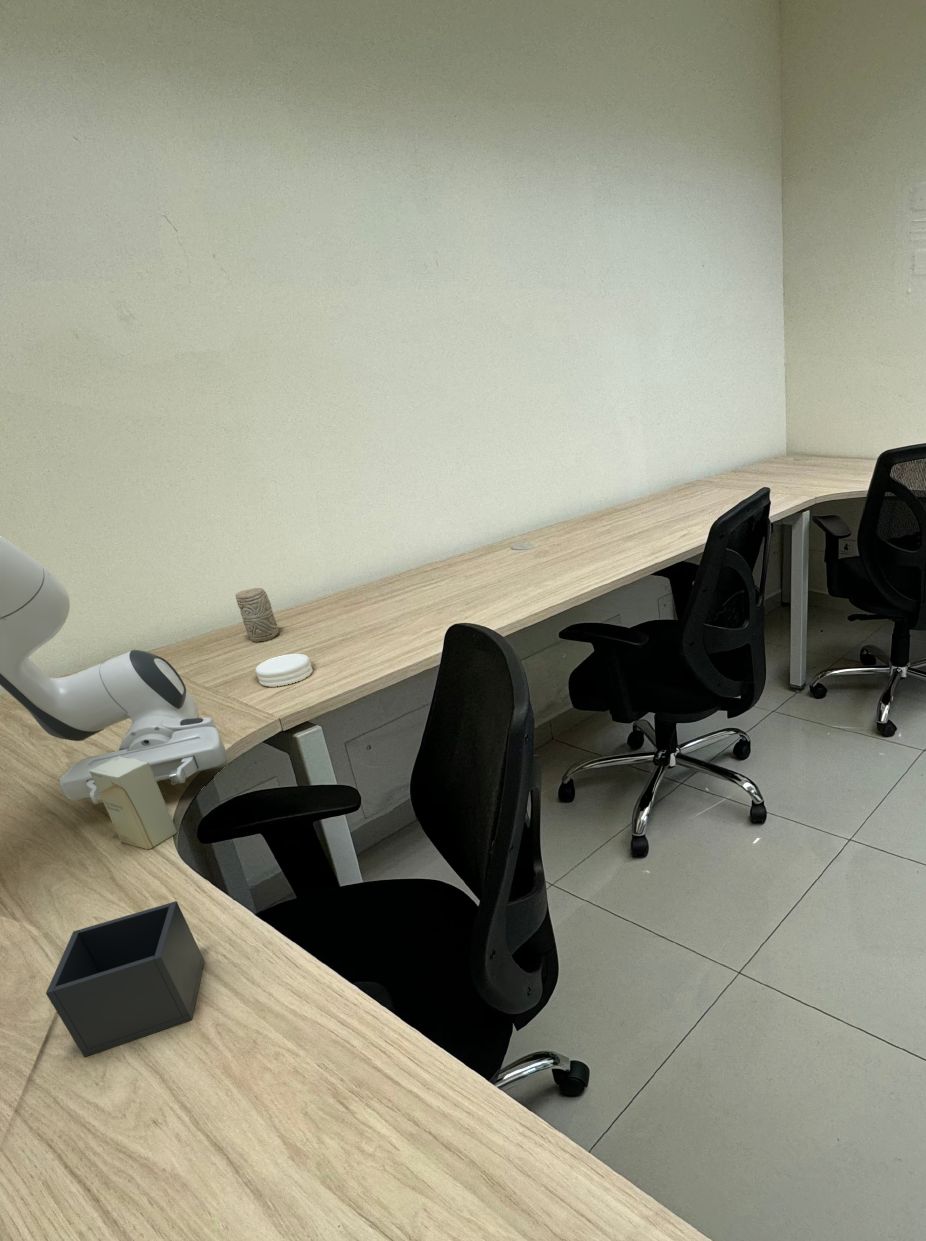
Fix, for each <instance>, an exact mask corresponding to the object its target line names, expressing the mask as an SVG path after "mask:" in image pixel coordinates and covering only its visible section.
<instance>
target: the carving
mask: <svg viewBox="0 0 926 1241" xmlns="http://www.w3.org/2000/svg"><path fill="white" fill-rule="evenodd" d="M234 597H235V600H236V604H237V607H238V609H239V612H240V615H241V620H242V623H243V624H244V629H245V632H246V633H247V635H248V638H249V639H250V640H251V641H252V642H255V643H260V641H261V642H267V641H269V640H271V639H273V638H275V637H276V636H277V635H278V633H279V626H278V623H277V621H276V618H275V617H276V616H275V614H274V610H273V607H272V603H271V601H270V599H269V596H268V593H267V592H266V591H265V590H264V588H262V587H254V588H249V589H245V590H240V591H238V592H236V593H235V596H234Z"/></svg>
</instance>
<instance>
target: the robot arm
mask: <svg viewBox="0 0 926 1241" xmlns="http://www.w3.org/2000/svg"><path fill="white" fill-rule="evenodd" d="M70 607H71V602H70V595H69V593H68V590H67V588H66V587H65V585H64V584H63V583H62V582H61V580H59V578H58V577H57V576H56V575H55V574H54V573H53V572H52V571H50V570H49V569H48V568H46V567H45V566H44V565H43V564H42V563H40V562H39V561H38V560H37V559H35V558H34V557H33V556H32V555H31V554H29V553H27V552H26V551H25V550H23V549H22V548H20V547H19V546H17V545H16V544H14V543H12V542H11V541H9V540H8V539H7V538H5V537H3V536H1V535H0V686H1V687H2V689H4V690H5V691H6V692H7V693H8V694H9V695H10V696H11V697H12V698H14V699H15V700H17V702H18V703H19V704H20V705H22V706H23V708H25V709H26V711H28V712H29V714H30V715H31V716H32V717H33V719H34V720H35V721H36V722H37V724H38V725H39V726H40V727H41V728H42V729H43V730H44V731H45V732H46V734H48V735H50V736H51V737H54V738H57V739H61V740H66V741H72V742H73V741H74V742H82V741H85V740H86V739H89V738H91V737H92V736H95V735H96V734H98V733H100V732H102V731H104V730H105V729H106V728H107V729H108V728H110V727H112V726H114V725H116V724H118V723H121V722H124V721H126V720H128V719H130V720H131V724H130V725H129V728H127V731H126V732H125V734H124V737H123V738H122V740H121V741H120V744H119V747H118V750H115V751H111V752H110V751H109V752H107V753H101V754H97V755H93V756H88V757H85V758H83V759H80V760H78V761H77V762H75V763H74V764H73V765H72V766H70V767H69V768H68V769H67V770H66V771H65V773H64V774H63V775H62V776H61V777H60V779H59V782H58V783H59V786H60V788H61V791H62V793H63V795H64V796H65V798H66V799H68V800H69V801H72V802H74V801H75V802H76V801H80V800H84V799H88V798H90V800H91V802H92V804H93V805H97V804H100V803H103V800H102V798H101V796H100V794H99V792H98V789H97V787H96V785H95V783H94V781H93V778H92V776H91V774H90V772H89V770H90V769H92V768H95V767H97V766H99V765H101V764H103V763H105V762H107V761H109V760H111V759H113V758H115V757H117V756H119V755H120V756H125V757H130V758H135V759H139V760H144V761H148V762H149V765H150V767H151V770H152V772H153V775H154V777H155V780H156V782H159V781H164V780H168V779H169V781H170V784H171V785H172V786H175V785H178V784H184V783H185V782H186V779H188V778H189V777H190V776H192V775H194V774H195V773H197V772H202V771H206V770H210V769H214V768H215V769H216V768H218V767H220V766H223V765H224V764H225V763H227V760H228V753H227V751H226V747H225V745H224V741H223V739H222V737H221V734H220V731H219V729H218V726H217V725H216V724H215V721H214V719H213V718H212V717H209V716H207V717H200V712H199V707H198V705H197V702H196V701H195V699H194V698H193V697H192V696H191V695H190V693H188V692H187V687H186V684H185V683H184V681H183V679H182V677H181V675H180V674H179V673H178V671H177V670H176V669H175V667H173V665H172V664H171V663H170V662H169V661H168V660H166V659H165V658H163V657H161V656H159V655H156V654H154V653H151V652H148V651H145V650H139V649H132V650H131V651H127V652H125V653H122V654H119V655H117V656H114V657H111V658H110V659H106V660H104V661H102V662H101V663H98V664H96V665H93V666H91V667H88V668H85V669H83V670H81V671H78V672H75V673H72V674H71V675H67V676H61V677H49V676H48V675H47V674H45V672H44V671H43V670H42V669H41V668H40V667H39V666H38V665H37V664H36V663H34V661H33V660H32V659H31V658H30V657H31V656H32V655H33V654H34V653H35V652H36V651H37V650H38V649H39V648H41V647H43V646H44V645H45V644H47V643H48V642H49V641H51V640H52V639H53V638H55V637H56V635H57V634H58V633H59V632H60V631H61V629H62V628H63V626H64V625H65V623H66V621H67V619H68V616H69V613H70Z"/></svg>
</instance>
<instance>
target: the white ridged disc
mask: <svg viewBox="0 0 926 1241" xmlns="http://www.w3.org/2000/svg"><path fill="white" fill-rule="evenodd" d="M255 673H256V675H257V679H258V682H259V684H260V685H261V686H264V687H267V686H268V688H276V687H277V686H278V687H284V685H285V686H289V685H293V684H296V683H299V682H301V681H303V680H305V679H307V678H308V677H310V675H312V673H313V667H312V663H311V661H310V658H309V656H308V655H306V654H303V653H289V654H283V655H278V656H275V657H271V658H269V659H266V660H264V661H262V662H261V663H259V664H258V665H257V666H256V668H255ZM306 677H307V678H306ZM298 681H299V682H298ZM295 682H296V683H295ZM292 683H293V684H292ZM288 684H289V685H288Z"/></svg>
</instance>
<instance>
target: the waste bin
mask: <svg viewBox="0 0 926 1241" xmlns="http://www.w3.org/2000/svg"><path fill="white" fill-rule="evenodd" d="M188 924H189V923H188V922H187V920H186V918H185V916H184V914H183V912H182V908H181V907H180V906H179V903H178V901H177V900H175V901H171V902H168V903H165V904H162V905H158V906H155V907H152V908H148V909H144V910H141V911H138V912H134V913H131V914H128V915H124V916H121V917H117V918H115V919H114V918H113V919H111V920H107V921H103V922H100V923H97V924H94V925H90V926H87V927H83V928H80V929H76V930H73V931H72V933H71V935H70V938H69V939H68V943H67V945H66V947H65V949H64V952H63V954H62V956H61V958H60V960H59V963H58V964H57V967H56V970H55V972H54V973H53V976H52V978H51V980H50V983H49V985H48V987H47V990H46V992H45V994H46V996H47V998H48V1000H49V1001H50V1003H51V1004H52V1006H53V1008H54V1009H55V1011H56V1013H57V1014H58V1016H59V1018H60V1020H61V1021H62V1023H63V1025H64V1026H65V1028H66V1029H67V1031H68V1033H69V1035H70V1036H71V1039H73V1041H74V1043H75V1044H76V1046H77V1048H78V1049H79V1051H80V1053H81V1055H82V1056H83V1058H87V1057H89V1056H92V1055H95V1054H97V1053H100V1052H103V1051H107V1050H109V1049H112V1048H115V1047H118V1046H121V1045H123V1044H124V1045H125V1044H126V1043H129V1042H132V1041H135V1040H139V1039H141V1038H144V1037H146V1036H149V1035H152V1034H155V1033H158V1032H162V1031H164V1030H167V1029H170V1028H173V1027H175V1026H178V1025H181V1024H184V1023H187V1022H190V1021H193V1018H194V1013H195V1007H196V1003H197V998H198V994H199V993H198V992H199V988H200V984H201V979H202V975H203V970H204V965H205V958H204V956H203V954H202V952H201V950H200V948H199V946H198V944H197V942H196V939H195V937H194V935H193V933H192V931H191V929H190V926H189V925H188Z"/></svg>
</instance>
